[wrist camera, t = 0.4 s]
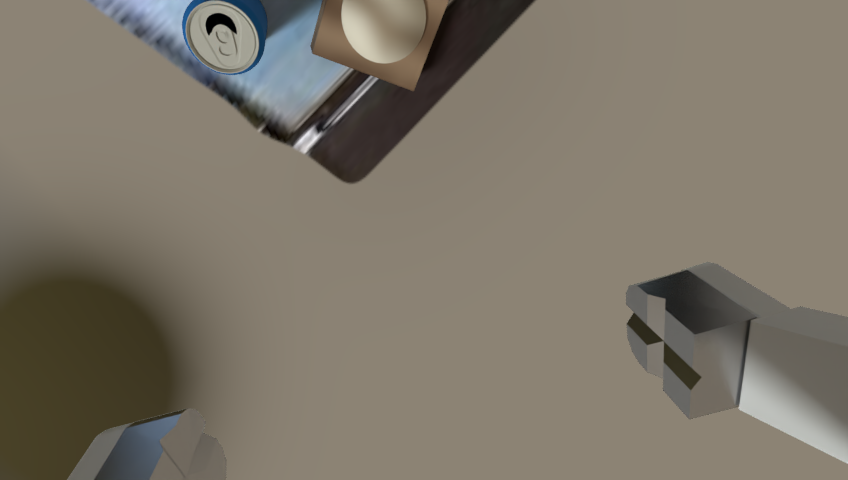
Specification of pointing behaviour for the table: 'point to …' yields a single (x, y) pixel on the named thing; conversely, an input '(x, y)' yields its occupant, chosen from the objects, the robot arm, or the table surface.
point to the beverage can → (226, 33)
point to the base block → (379, 36)
